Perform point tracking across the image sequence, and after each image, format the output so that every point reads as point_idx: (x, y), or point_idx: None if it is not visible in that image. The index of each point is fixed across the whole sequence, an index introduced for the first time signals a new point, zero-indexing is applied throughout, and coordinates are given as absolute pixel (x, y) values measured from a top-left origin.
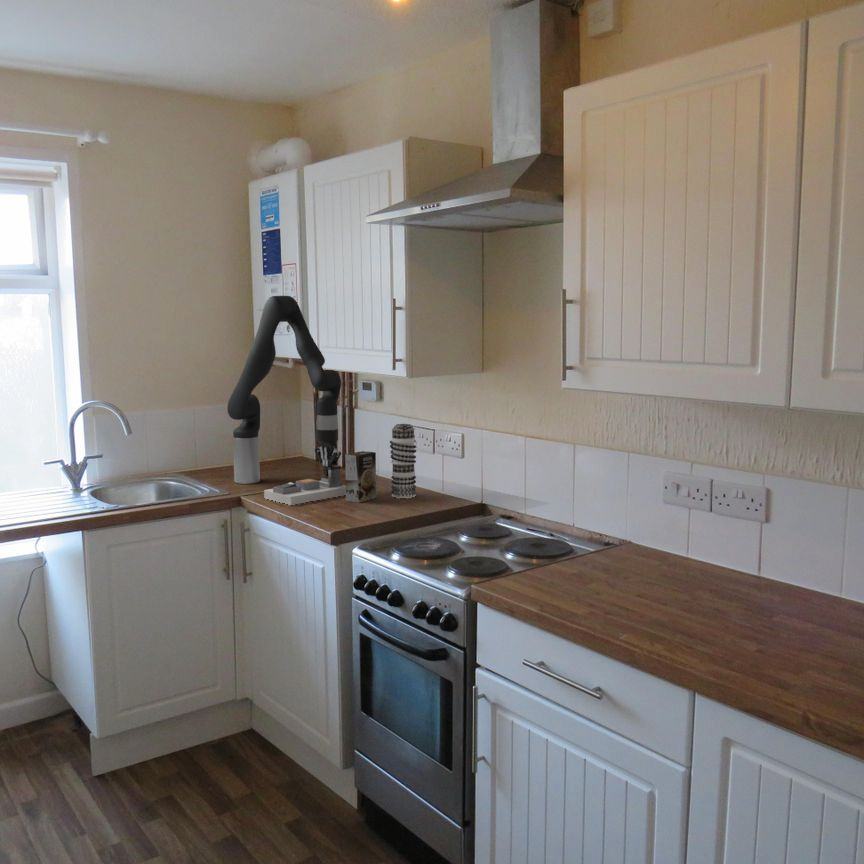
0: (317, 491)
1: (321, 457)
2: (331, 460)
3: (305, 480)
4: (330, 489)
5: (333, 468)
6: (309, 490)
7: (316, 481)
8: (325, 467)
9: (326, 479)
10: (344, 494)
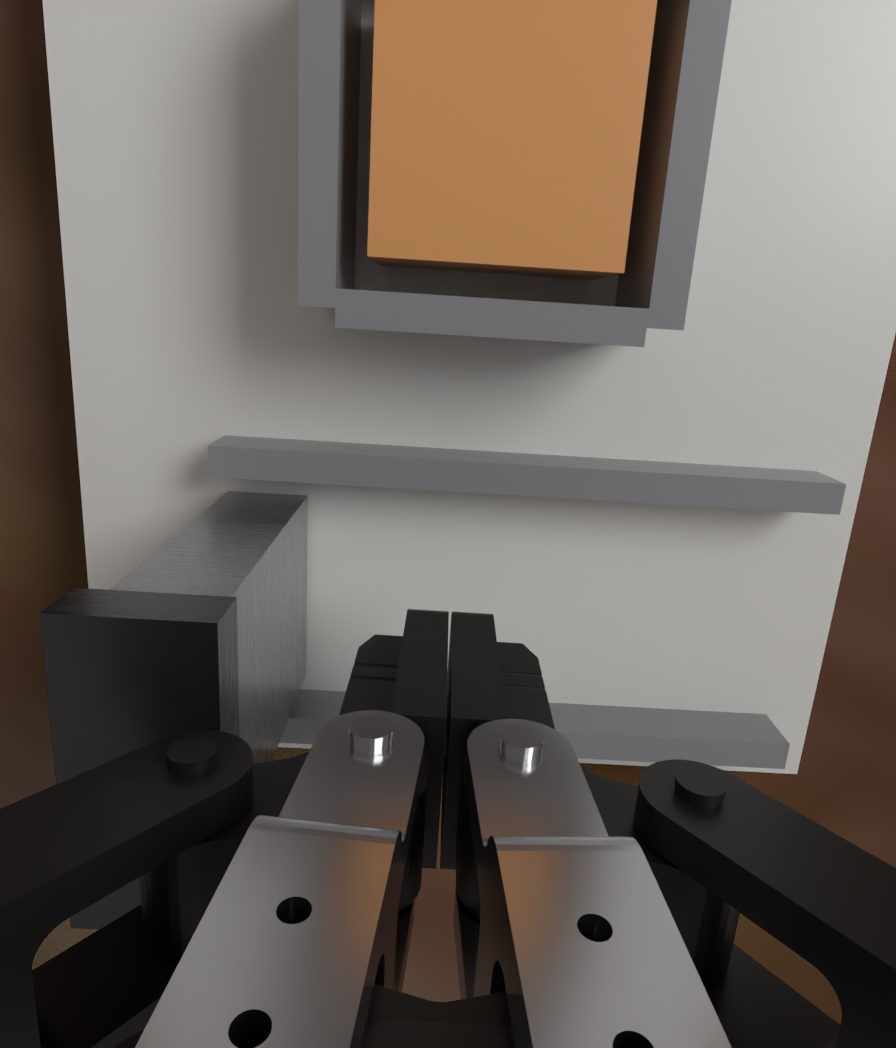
0: (103, 69)
1: (626, 866)
2: (14, 837)
3: (566, 107)
4: (97, 365)
5: (67, 688)
6: (290, 21)
7: (318, 238)
8: (441, 699)
9: (640, 733)
10: None
